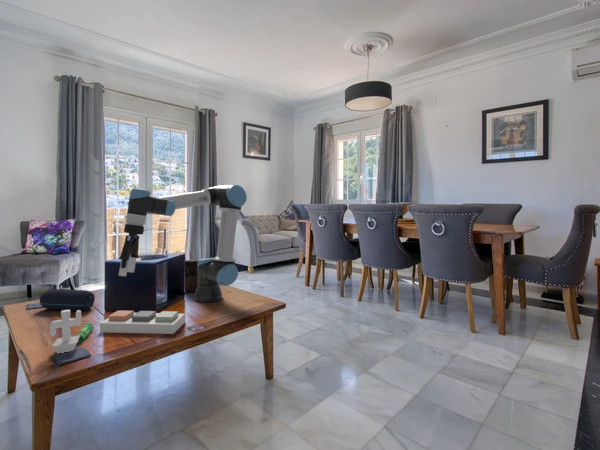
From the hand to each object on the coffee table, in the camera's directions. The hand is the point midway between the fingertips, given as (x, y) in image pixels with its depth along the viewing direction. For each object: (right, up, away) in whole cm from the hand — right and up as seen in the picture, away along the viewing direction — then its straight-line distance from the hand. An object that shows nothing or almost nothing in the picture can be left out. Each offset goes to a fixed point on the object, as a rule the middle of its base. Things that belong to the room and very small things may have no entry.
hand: (126, 274), depth 137 cm
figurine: (-12, -25, -19) cm, 34 cm away
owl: (+9, -20, +62) cm, 66 cm away
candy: (-14, -25, -7) cm, 29 cm away
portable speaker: (-43, -22, +26) cm, 55 cm away
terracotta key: (-4, -21, +4) cm, 21 cm away
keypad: (+6, -24, +4) cm, 25 cm away
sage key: (+16, -21, +4) cm, 26 cm away
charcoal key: (+6, -21, +4) cm, 22 cm away
